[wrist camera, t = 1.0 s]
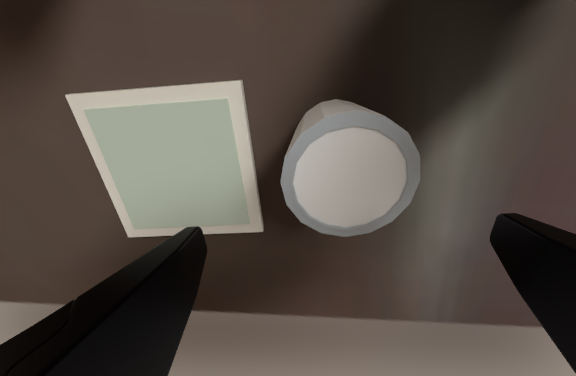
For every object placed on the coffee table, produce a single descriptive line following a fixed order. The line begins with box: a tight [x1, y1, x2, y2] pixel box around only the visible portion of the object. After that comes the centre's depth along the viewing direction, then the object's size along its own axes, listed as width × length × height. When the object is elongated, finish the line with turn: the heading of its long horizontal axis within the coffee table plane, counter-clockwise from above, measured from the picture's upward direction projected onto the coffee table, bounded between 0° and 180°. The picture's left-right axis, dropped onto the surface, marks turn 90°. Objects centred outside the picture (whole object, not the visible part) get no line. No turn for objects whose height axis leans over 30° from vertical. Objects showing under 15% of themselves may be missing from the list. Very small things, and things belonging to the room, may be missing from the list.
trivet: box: [65, 80, 264, 237], centre depth 20 cm, size 12×12×1 cm
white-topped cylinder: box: [280, 99, 420, 237], centre depth 16 cm, size 7×7×7 cm
